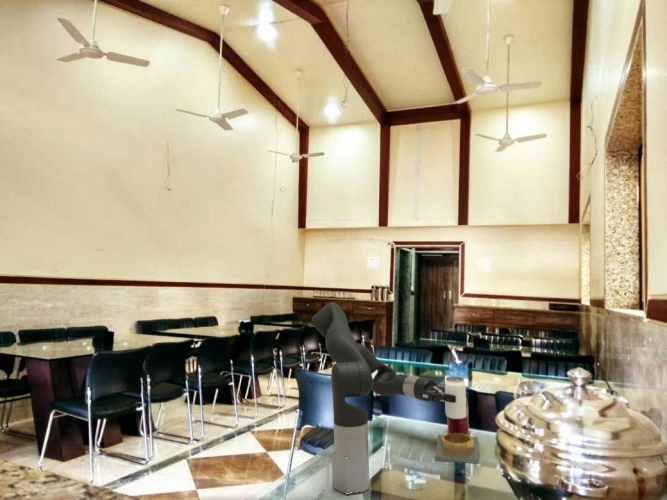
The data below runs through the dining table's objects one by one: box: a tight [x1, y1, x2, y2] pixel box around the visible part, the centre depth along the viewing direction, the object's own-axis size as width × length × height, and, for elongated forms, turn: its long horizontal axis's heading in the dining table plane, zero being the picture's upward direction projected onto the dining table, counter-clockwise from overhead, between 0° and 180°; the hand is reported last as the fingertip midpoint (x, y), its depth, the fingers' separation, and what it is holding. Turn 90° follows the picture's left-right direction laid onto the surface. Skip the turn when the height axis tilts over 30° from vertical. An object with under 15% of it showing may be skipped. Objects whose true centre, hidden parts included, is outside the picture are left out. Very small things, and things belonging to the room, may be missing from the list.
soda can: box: [446, 398, 470, 435], centre depth 174 cm, size 7×7×12 cm
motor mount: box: [434, 432, 480, 464], centre depth 157 cm, size 20×13×4 cm, turn 165°
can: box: [444, 376, 467, 419], centre depth 158 cm, size 6×6×12 cm
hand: (461, 397), depth 156 cm, fingers closed on can, 6 cm apart
